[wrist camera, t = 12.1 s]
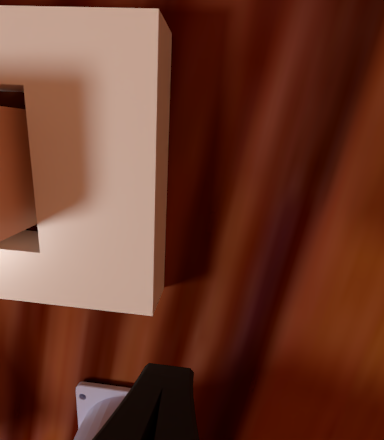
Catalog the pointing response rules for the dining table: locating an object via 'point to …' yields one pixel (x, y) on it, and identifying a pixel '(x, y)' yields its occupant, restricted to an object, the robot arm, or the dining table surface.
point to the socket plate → (90, 154)
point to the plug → (15, 174)
